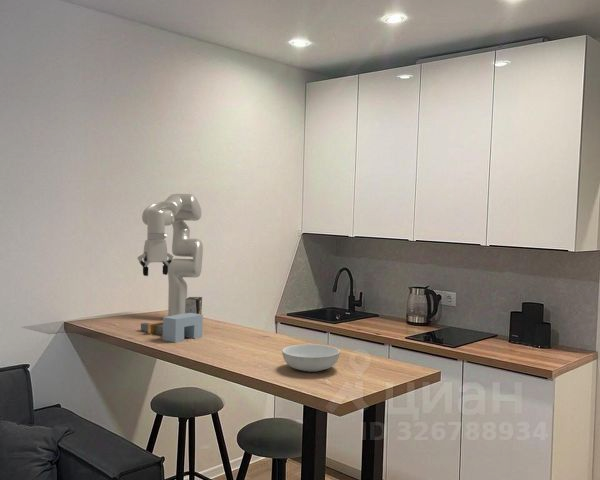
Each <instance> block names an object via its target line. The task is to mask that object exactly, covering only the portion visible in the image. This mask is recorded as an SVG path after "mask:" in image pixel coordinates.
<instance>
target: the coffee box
mask: <svg viewBox="0 0 600 480" xmlns="http://www.w3.org/2000/svg"><path fill="white" fill-rule="evenodd" d="M202 310H203V297H202V296H189V297H187V299H185V313H195V314H201V315H203V312H202Z"/></svg>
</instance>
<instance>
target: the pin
mask: <svg viewBox="0 0 600 480" xmlns="http://www.w3.org/2000/svg"><path fill="white" fill-rule="evenodd" d="M140 332H143V333H147V334H148V335H151V334H152V335H157V334H158V336H161V335H162V336H161V337H163V321H158V322H152V323H149V322H143V323H142V322H141V323H140Z"/></svg>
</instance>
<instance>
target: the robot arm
mask: <svg viewBox="0 0 600 480" xmlns="http://www.w3.org/2000/svg"><path fill="white" fill-rule="evenodd" d="M202 211H203V210H202V208H201V205H200V203H199V201H198V199H197V197H196V196H195V195H194V194H191V193H173V194H171V195H169V196H168V197H167V198H166V199H165V200H163V201H160V202H155V203H153V204H150V205H148V206H147V207H145V209H144V210H143V212H142V215H141V220H142V222H143V224H144V225H146V226H147V235H146V236H147V237H146V239H145V241H144V244H143V245H144V246H143V253H142V254H141V255H139V256H137V261H138V263H139V264H140V265H141V267H142V275H143V276H144V277H148V276H149V264H151V263H162V264H163V265H162V275H165V276H168V277H167V278H168V297H167V298H168V302H167V303H168V304H167V307H168V309H167V310H168V311H167V312H168V313H167V316H173V315H179V314H185V299H187V298H188V284H187V281H186V280H185V279H184V278H199V277H200V276H201V273H202V267H203V255H204V246H203V245H204V244H203V242H202V240H201V239H198V238H190V233H191V231H190V230H191V229H190V227H189V226H188V224H187V223H186V221H194V222H195V221H196V222H197V221H199V220H200V219H201V217H202ZM165 226H167V227H168V226H172V233H173V234H172V244H171V253H172V254H170V253H168V247H167V241H166V238H167V237H168V235H167V234H166V233H165V229H166V227H165ZM174 256H176V257H183V258H174ZM184 257H185V258H184Z"/></svg>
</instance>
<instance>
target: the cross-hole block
mask: <svg viewBox="0 0 600 480" xmlns="http://www.w3.org/2000/svg"><path fill="white" fill-rule="evenodd" d="M203 318H204V317H203V314H202V315H201V314H195V313H185V314H179V315H173V316H168V315H167V316H163V317H162V322H163V336H162V341H167V342H172V343H175V344H176V343H180V342H184V341H185V337H186V338H188V339H189V338H190V339H193V340H194V339H198V338H203V323H204V322H203Z"/></svg>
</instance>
